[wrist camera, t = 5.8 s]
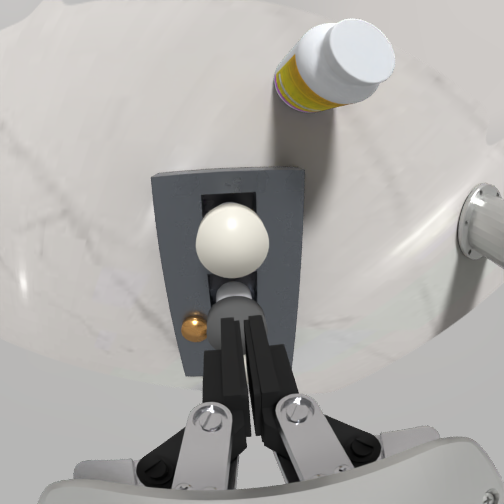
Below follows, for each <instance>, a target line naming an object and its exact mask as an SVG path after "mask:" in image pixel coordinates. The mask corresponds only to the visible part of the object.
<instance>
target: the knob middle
mask: <svg viewBox="0 0 504 504" xmlns="http://www.w3.org/2000/svg"><path fill="white" fill-rule="evenodd" d="M254 315H262V318H263V322H264V326H265V330H266V335H268V328H267V324H266V320H265V316H264V312H263V309H262V308H261V306H260V305H259V304H258V303H257V302H256V301H254V300H252V296H251V292H250V289H249V288H248V287H247V286H246V285H245V284H243V283H241V282H236V281H232V282H227V283H225V284H223V285H222V286H221V287H220V288H219V289H218V291H217V294H216V303H215V304H214V305H213V306H212V307H211V309H210V310H209V312H208V316H207V339H208V341H209V343H210V344H211V346H212V347H213V348H214V349H216V350H221V318H229V317H234V321H236V320H239V322H240V330H241V339H242V347H243V355H245V354H246V353H245V337H244V320H248V316H254Z"/></svg>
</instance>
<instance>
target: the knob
mask: <svg viewBox="0 0 504 504" xmlns="http://www.w3.org/2000/svg"><path fill="white" fill-rule="evenodd" d="M268 249H269V238H268V234H267V231H266V229H265V227H264V225H263V223H262V221H261V219H260V217H259V216H258V215H257V214H256V213H255V212H254V211H253V210H252V209H250V208H249V207H247V206H244V205H241V204H238V203H235V202H225V203H222V204H220V205H219V206H217V207H215V208H213V209H212V210H210V211H209V212H208V213H207V214H206V215H205V216H204V218H203V219H202V221H201V223H200V226H199V229H198V233H197V238H196V251H197V255H198V257H199V260H200V261H201V263H202V264H203V265H204V267H205V268H206V269H208V270H209V271H210V272H212V273H213V274H215V275H218V276H220V277H224V278H239V277H243V276H246V275H248V274H250V273H252V272H254V271H255V270H256V269H257V268H259V267H260V265H261V264H262V263H263V262H264V260H265V258H266V256H267V253H268Z"/></svg>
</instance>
